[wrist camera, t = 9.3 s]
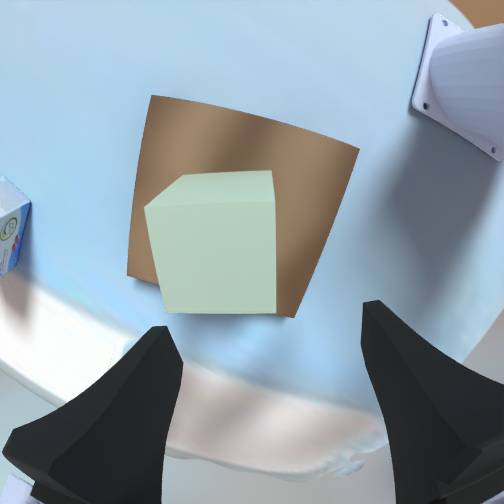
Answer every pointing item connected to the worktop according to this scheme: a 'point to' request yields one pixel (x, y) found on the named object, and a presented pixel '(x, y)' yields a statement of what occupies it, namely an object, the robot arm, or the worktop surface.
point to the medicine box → (11, 223)
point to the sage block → (215, 243)
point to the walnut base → (244, 159)
